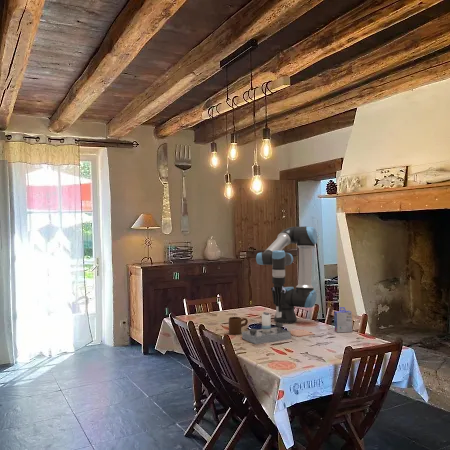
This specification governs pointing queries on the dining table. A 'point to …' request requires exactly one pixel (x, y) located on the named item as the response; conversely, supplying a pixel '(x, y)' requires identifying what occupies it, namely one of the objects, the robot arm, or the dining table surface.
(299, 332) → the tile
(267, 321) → the cylinder
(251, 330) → the plunger near
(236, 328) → the mug
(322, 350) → the dining table surface
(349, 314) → the ink cartridge box
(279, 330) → the plunger far
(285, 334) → the housing
